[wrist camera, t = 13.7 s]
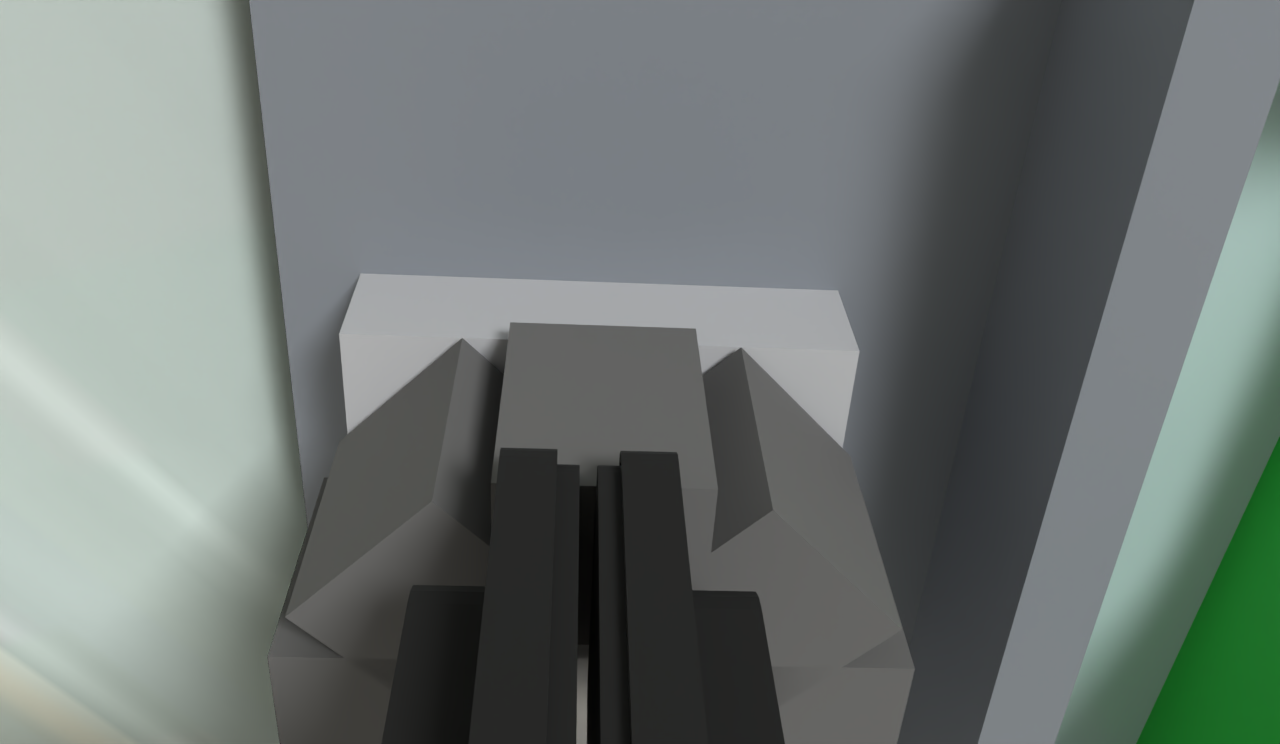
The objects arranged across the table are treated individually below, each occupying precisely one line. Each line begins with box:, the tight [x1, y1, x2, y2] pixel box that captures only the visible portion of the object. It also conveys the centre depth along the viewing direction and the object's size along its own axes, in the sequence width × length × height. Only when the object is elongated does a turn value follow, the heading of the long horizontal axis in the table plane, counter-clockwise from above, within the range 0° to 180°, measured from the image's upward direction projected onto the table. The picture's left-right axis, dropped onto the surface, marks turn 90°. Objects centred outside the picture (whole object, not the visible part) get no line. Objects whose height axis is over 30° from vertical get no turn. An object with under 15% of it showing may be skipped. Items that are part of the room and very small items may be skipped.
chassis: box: [249, 0, 1280, 744], centre depth 16 cm, size 21×17×5 cm
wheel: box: [268, 322, 915, 744], centre depth 14 cm, size 7×7×3 cm
